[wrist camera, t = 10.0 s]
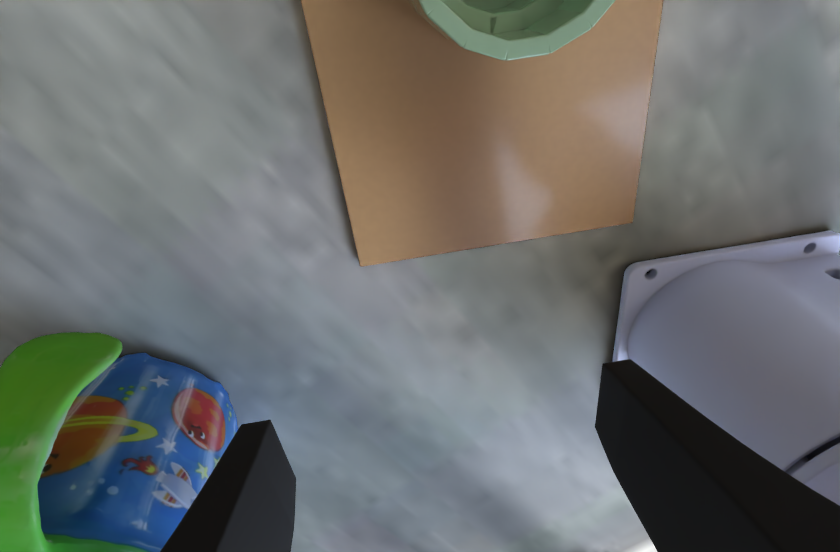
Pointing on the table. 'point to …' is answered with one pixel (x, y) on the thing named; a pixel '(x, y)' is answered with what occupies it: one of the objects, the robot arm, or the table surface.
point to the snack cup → (102, 445)
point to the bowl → (511, 24)
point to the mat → (480, 128)
